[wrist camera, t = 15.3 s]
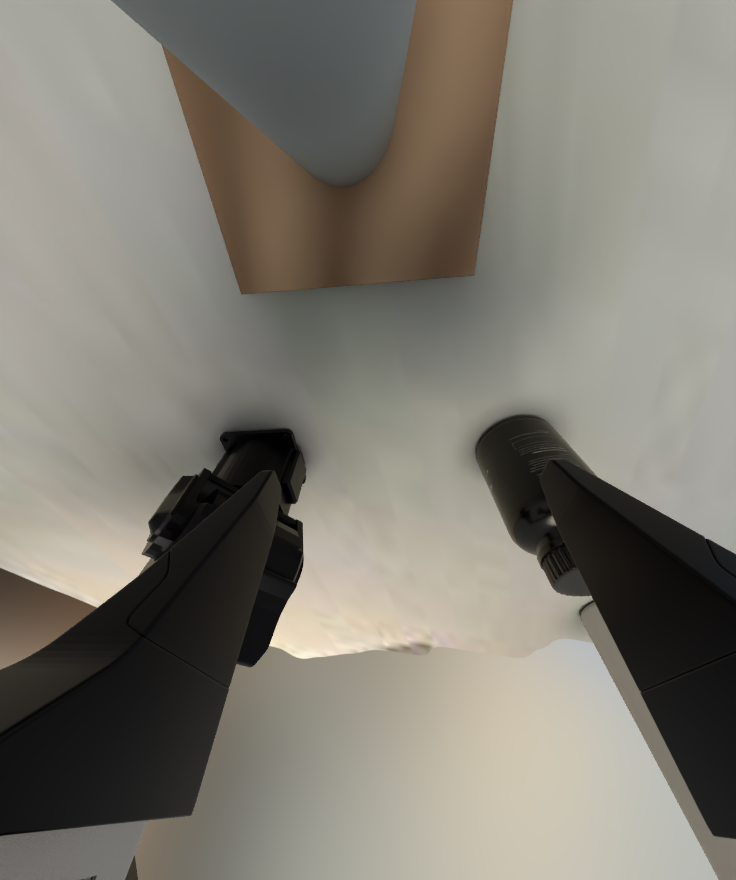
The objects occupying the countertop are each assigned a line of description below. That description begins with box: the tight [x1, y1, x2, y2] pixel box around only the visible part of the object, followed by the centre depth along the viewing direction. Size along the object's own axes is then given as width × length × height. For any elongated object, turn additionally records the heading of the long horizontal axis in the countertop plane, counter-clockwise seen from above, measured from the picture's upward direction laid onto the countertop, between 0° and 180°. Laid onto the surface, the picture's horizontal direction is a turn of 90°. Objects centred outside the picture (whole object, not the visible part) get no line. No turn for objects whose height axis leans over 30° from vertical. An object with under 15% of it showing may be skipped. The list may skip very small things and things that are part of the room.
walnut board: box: [162, 0, 513, 294], centre depth 12 cm, size 14×14×1 cm
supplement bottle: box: [476, 417, 597, 596], centre depth 20 cm, size 7×7×12 cm
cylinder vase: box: [581, 602, 736, 880], centre depth 35 cm, size 12×12×25 cm
